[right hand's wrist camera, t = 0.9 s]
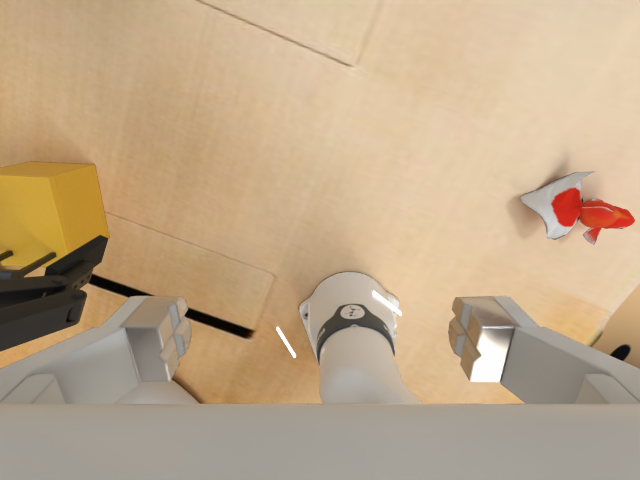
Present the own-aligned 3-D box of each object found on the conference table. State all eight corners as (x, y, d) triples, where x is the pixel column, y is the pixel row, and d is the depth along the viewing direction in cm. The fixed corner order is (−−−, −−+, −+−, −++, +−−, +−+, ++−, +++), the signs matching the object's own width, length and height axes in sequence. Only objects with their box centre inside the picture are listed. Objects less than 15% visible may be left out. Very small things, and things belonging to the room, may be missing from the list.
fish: (588, 269, 56) (628, 265, 47) (498, 222, 60) (518, 210, 50) (622, 213, 56) (669, 199, 46) (530, 171, 60) (555, 149, 50)
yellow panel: (76, 264, 51) (27, 297, 43) (8, 261, 51) (-55, 294, 42) (54, 175, 46) (-7, 192, 38) (-22, 172, 46) (-100, 188, 37)
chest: (109, 238, 59) (75, 260, 51) (50, 235, 59) (7, 257, 51) (95, 164, 54) (54, 175, 46) (30, 161, 54) (-22, 172, 46)
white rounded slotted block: (125, 439, 78) (85, 510, 64) (105, 361, 69) (53, 424, 56) (222, 441, 78) (201, 513, 64) (213, 363, 69) (188, 426, 56)
